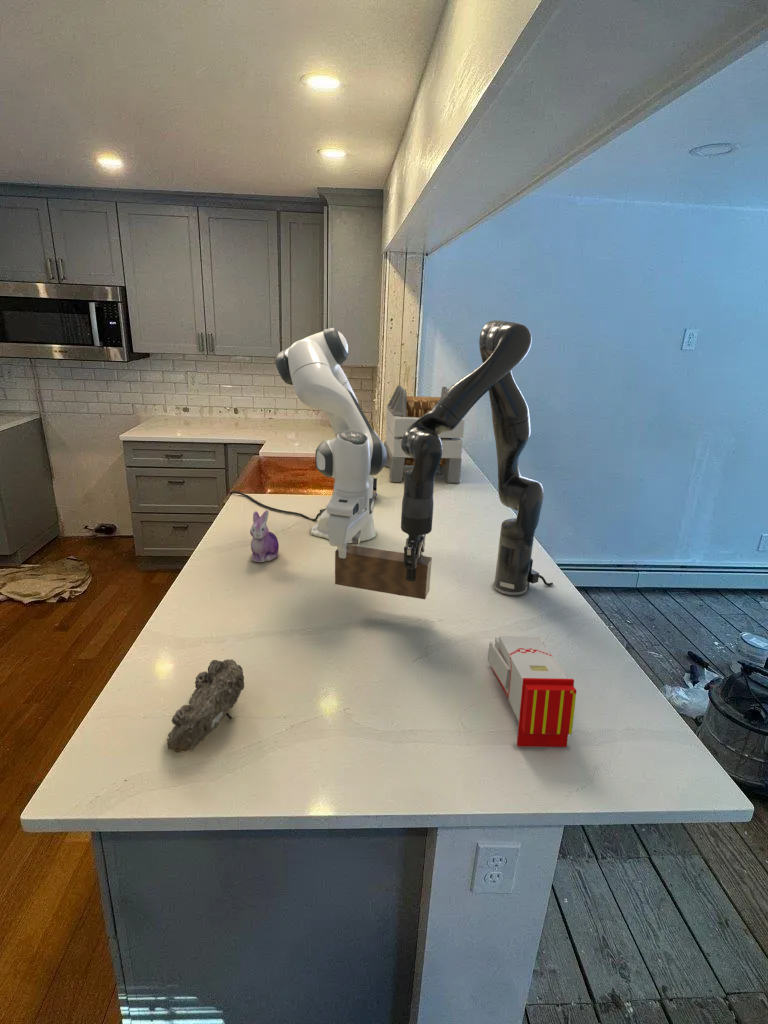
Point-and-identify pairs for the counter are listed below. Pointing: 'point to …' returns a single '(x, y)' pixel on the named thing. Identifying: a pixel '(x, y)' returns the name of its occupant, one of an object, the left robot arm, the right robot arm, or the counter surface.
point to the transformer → (401, 418)
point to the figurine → (262, 539)
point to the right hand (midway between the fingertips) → (413, 575)
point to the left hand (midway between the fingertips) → (349, 550)
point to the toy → (534, 690)
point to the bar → (381, 572)
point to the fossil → (206, 705)
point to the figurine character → (374, 487)
